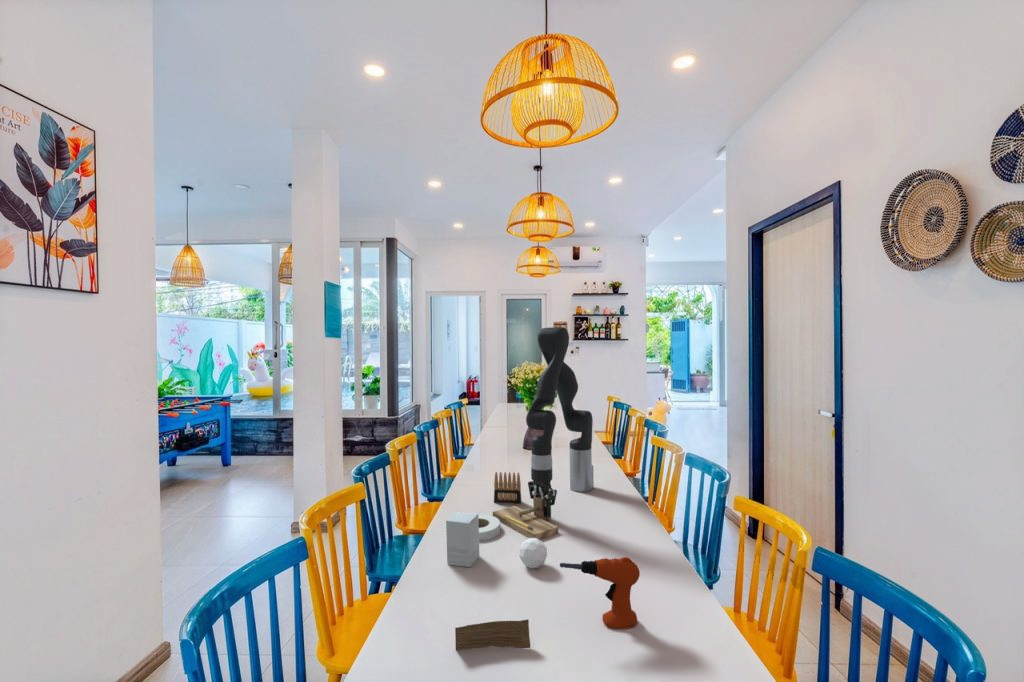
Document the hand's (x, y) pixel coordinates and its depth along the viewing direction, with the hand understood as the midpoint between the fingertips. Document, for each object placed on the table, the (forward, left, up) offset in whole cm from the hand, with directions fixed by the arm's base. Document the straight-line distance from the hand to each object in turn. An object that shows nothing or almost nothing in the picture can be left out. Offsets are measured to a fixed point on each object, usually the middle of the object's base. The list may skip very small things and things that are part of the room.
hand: (542, 514), depth 160 cm
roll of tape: (+23, -6, -2) cm, 24 cm away
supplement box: (+37, +9, -2) cm, 38 cm away
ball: (+23, +24, -2) cm, 34 cm away
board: (+8, 0, -2) cm, 8 cm away
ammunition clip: (0, -21, -2) cm, 21 cm away
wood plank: (+51, +45, -2) cm, 68 cm away
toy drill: (+27, +53, -2) cm, 60 cm away
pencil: (+12, +1, 0) cm, 12 cm away
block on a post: (+4, 0, -1) cm, 4 cm away
